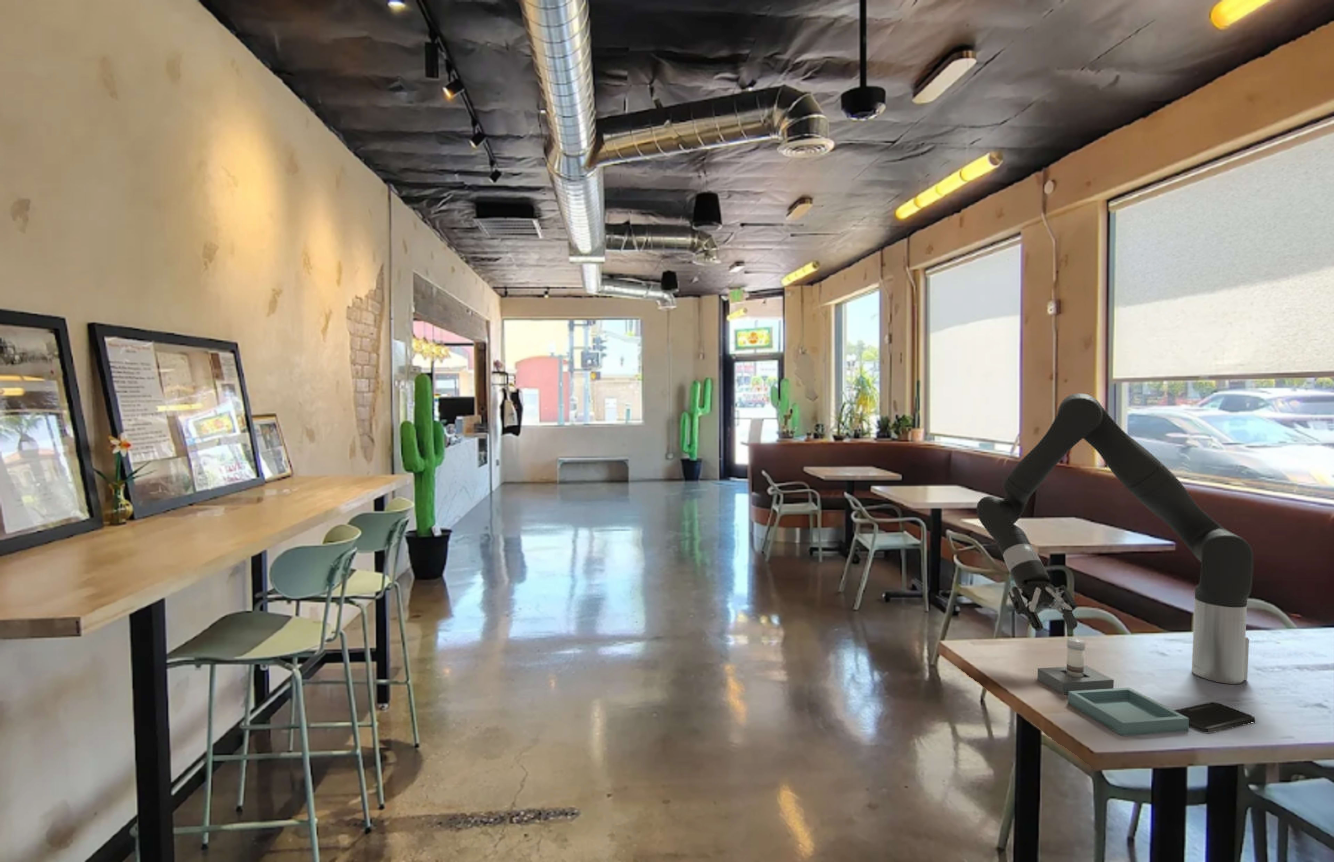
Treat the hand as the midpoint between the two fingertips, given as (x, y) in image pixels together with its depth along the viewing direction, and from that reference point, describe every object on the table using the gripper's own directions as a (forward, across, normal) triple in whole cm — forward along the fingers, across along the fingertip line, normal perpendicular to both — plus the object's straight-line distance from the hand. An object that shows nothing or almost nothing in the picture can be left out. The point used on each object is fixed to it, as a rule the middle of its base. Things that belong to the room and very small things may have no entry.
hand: (1057, 628), depth 156 cm
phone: (+25, +15, -9) cm, 30 cm away
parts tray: (+22, -1, -7) cm, 24 cm away
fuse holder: (+12, 0, +3) cm, 12 cm away
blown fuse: (+12, 0, +3) cm, 12 cm away
